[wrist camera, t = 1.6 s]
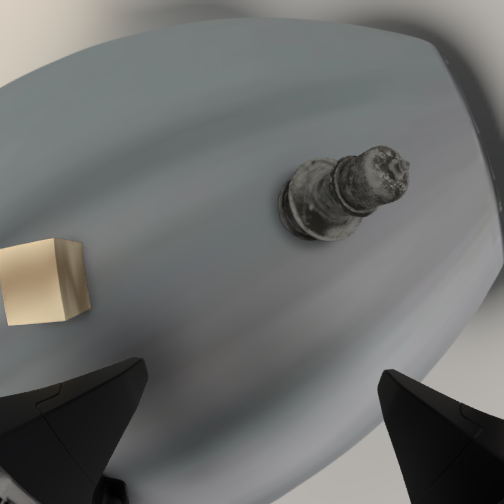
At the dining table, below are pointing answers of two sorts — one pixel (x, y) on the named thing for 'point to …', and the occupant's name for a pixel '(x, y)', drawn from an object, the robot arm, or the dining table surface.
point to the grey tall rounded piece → (341, 193)
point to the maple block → (43, 281)
